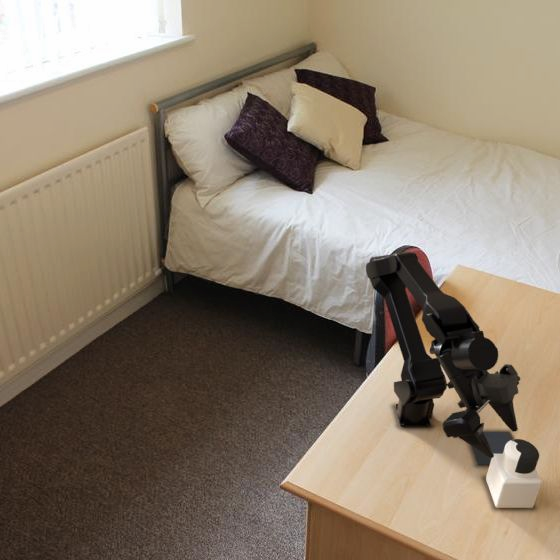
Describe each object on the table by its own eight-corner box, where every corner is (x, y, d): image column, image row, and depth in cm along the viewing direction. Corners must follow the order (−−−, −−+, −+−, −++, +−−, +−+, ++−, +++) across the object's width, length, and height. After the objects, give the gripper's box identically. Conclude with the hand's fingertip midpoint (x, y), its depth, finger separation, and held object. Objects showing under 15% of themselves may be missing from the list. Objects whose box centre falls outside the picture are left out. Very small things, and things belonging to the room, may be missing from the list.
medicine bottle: (521, 478, 138) (535, 434, 131) (533, 508, 132) (549, 463, 125) (485, 478, 137) (497, 434, 131) (495, 508, 131) (509, 463, 125)
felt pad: (478, 465, 140) (478, 464, 140) (466, 432, 148) (466, 431, 148) (522, 465, 141) (522, 464, 141) (508, 432, 148) (508, 431, 148)
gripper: (469, 385, 118) (515, 466, 118) (520, 337, 130) (562, 411, 130) (422, 397, 127) (465, 473, 127) (474, 351, 139) (513, 421, 139)
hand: (503, 443), depth 130 cm, fingers open, 9 cm apart
